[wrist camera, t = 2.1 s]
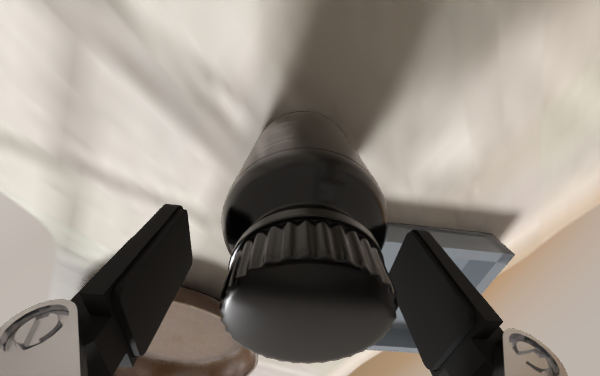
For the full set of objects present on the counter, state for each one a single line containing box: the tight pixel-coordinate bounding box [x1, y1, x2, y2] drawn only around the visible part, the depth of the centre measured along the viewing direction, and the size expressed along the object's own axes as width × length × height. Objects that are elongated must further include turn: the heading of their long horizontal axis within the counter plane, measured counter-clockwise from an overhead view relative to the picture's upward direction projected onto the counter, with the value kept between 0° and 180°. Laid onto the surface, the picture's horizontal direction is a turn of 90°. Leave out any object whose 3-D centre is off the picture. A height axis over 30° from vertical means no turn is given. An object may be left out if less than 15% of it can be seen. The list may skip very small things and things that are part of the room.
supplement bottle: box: [219, 111, 398, 364], centre depth 11 cm, size 7×7×12 cm
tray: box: [366, 223, 515, 353], centre depth 22 cm, size 16×14×2 cm
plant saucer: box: [113, 287, 258, 376], centre depth 26 cm, size 21×21×3 cm
